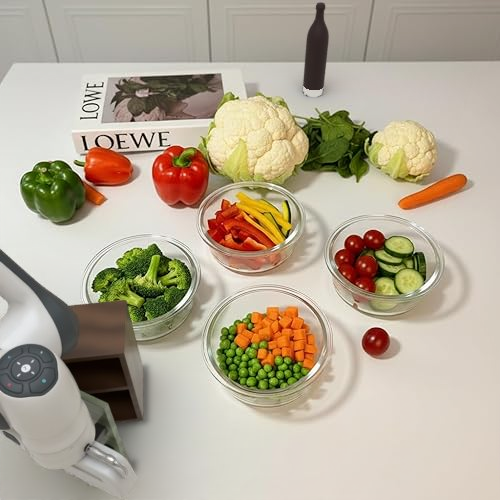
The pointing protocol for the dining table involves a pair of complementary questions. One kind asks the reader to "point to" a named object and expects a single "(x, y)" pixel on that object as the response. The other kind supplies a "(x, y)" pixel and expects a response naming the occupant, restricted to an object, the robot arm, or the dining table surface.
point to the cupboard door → (103, 424)
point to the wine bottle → (316, 51)
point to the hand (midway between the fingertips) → (82, 475)
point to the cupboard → (108, 358)
